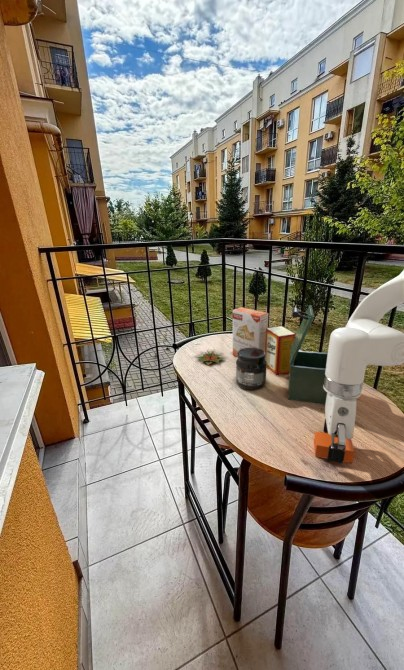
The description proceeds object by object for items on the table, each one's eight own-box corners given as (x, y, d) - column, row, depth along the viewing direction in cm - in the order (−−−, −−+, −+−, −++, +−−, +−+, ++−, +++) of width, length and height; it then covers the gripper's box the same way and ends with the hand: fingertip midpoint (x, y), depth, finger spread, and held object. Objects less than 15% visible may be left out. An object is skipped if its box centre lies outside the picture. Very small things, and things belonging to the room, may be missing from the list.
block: (348, 447, 69) (350, 436, 68) (352, 463, 64) (354, 451, 63) (313, 442, 71) (315, 431, 70) (315, 456, 67) (316, 445, 66)
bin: (336, 385, 96) (340, 354, 92) (341, 406, 85) (347, 372, 80) (288, 380, 100) (291, 350, 96) (287, 399, 89) (290, 366, 85)
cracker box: (231, 355, 122) (231, 309, 114) (240, 351, 125) (241, 306, 118) (257, 366, 112) (259, 315, 104) (266, 361, 115) (269, 312, 108)
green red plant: (191, 358, 120) (190, 349, 119) (213, 351, 126) (213, 342, 125) (206, 369, 111) (206, 358, 109) (230, 360, 117) (230, 350, 115)
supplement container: (256, 374, 106) (257, 344, 101) (271, 387, 96) (273, 355, 92) (230, 379, 102) (230, 349, 98) (244, 394, 93) (245, 361, 89)
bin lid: (311, 305, 89) (295, 300, 90) (314, 316, 78) (295, 310, 79) (292, 349, 96) (277, 343, 97) (291, 365, 85) (274, 359, 86)
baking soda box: (264, 364, 112) (266, 327, 107) (279, 362, 114) (281, 325, 108) (276, 375, 104) (278, 335, 98) (292, 372, 105) (295, 333, 100)
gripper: (371, 409, 52) (356, 478, 58) (354, 368, 68) (343, 426, 74) (328, 403, 55) (318, 470, 61) (320, 364, 70) (313, 421, 76)
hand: (332, 446), depth 67 cm, fingers open, 9 cm apart
